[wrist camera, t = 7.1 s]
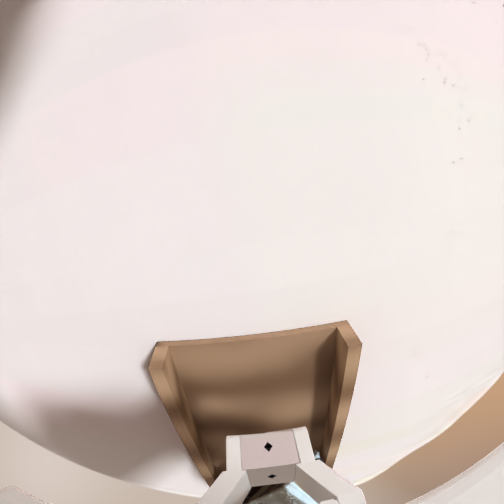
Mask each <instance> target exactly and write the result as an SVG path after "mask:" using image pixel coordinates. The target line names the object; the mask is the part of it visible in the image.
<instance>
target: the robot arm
mask: <svg viewBox="0 0 504 504" xmlns="http://www.w3.org/2000/svg"><path fill="white" fill-rule="evenodd" d="M287 482H295V483H296V484H297V485H298V486H299V487H300V488H301V489H302V490H303V491H305V492H306V493H307V494H308V495H309V496H310V497H311V498H312V499H313V500H314V501H316V502H317V503H318V504H367V503H366V500H365V497H364V494H363V491H362V490H361V489H360V488H358V487H357V486H355V485H354V484H352V483H351V482H349V481H348V480H347V479H345V478H344V477H342V476H341V475H339V474H338V473H337V472H335V471H334V470H333V469H331V468H330V467H328V466H327V465H326V464H324V463H323V462H322V461H321V460H315V457H314V453H313V450H312V446H311V442H310V439H309V435H308V431H307V428H306V427H305V426H304V427H298V428H293V429H292V428H291V429H285V430H279V431H273V432H266V433H258V434H248V435H233V436H227V437H226V471H222V473H221V474H220V475H219V477H218V478H217V479H216V481H215V482H214V483H213V484H212V486H211V487H210V488H209V489H208V491H207V492H206V493H205V494H204V495H203V497H202V498H201V499H200V500H199V502H198V503H197V504H242V503H243V501H244V499H245V498H246V496H247V494H248V493H249V491H250V490H251V487H255V486H263V485H271V484H279V483H287ZM0 504H47V503H46V502H43V501H41V500H39V499H37V498H35V497H33V496H31V495H29V494H28V493H26V492H24V491H22V490H20V489H19V488H17V487H14V486H9V487H6V488H4V489H2V490H0ZM405 504H504V442H503V443H502V444H501V445H499V446H498V447H497V448H496V449H494V450H493V451H492V452H491V453H489V454H488V455H487V456H485V457H484V458H483V459H481V460H480V461H478V462H477V463H476V464H474V465H473V466H471V467H470V468H468V469H467V470H465V471H464V472H462V473H461V474H459V475H458V476H456V477H454V478H453V479H451V480H450V481H448V482H446V483H444V484H443V485H441V486H439V487H437V488H435V489H434V490H432V491H430V492H428V493H426V494H424V495H422V496H420V497H418V498H416V499H414V500H412V501H410V502H408V503H405Z"/></svg>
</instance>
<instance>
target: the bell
mask: <svg viewBox="0 0 504 504" xmlns="http://www.w3.org/2000/svg"><path fill="white" fill-rule="evenodd" d="M313 453H314V457H315V460H321V461H322V462H323V460H322V459H320V455H319V452H318V451H316V450H313ZM242 504H318V503H317V502H316V501H314V500H313V499H312V498H311V497H310V496H309V495H308V494H307V493H306V492H305V491H303V490H302V489H301V488H300V487H299V486H298V485H297V484H296V483H295V482H287V483H279V484H271V485H263V486H255V487H251V490H250V491H249V493H248V494H247V496H246V498H245V499H244V501H243V503H242Z"/></svg>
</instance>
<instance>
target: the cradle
mask: <svg viewBox="0 0 504 504" xmlns="http://www.w3.org/2000/svg"><path fill="white" fill-rule="evenodd" d="M361 349H362V343H361V341H360V340H359V338H358V336H357V335H356V333H355V332H354V330H353V329H352V327H351V326H350V324H349V323H348V321H347V320H346V321H341V322H335V323H330V324H324V325H318V326H312V327H305V328H299V329H292V330H285V331H278V332H270V333H262V334H254V335H245V336H235V337H224V338H213V339H200V340H185V341H165V342H157V343H156V346H155V349H154V352H153V355H152V358H151V361H150V364H149V366H148V370H149V372H150V375H151V377H152V379H153V382H154V384H155V386H156V389H157V391H158V393H159V395H160V398H161V400H162V402H163V404H164V406H165V408H166V410H167V412H168V414H169V417H170V419H171V421H172V423H173V425H174V426H175V428H176V430H177V432H178V434H179V436H180V438H181V440H182V442H183V443H184V445H185V447H186V449H187V451H188V452H189V454H190V456H191V458H192V459H193V461H194V463H195V464H196V466H197V468H198V469H199V471H200V473H201V474H202V476H203V477H204V479H205V481H206V482H207V484H208V485H209V487H211V486H212V484H213V483H214V482H215V481H216V479H217V478H218V477H219V475H220V474H221V473H222V471H226V437H227V436H233V435H248V434H258V433H266V432H273V431H279V430H285V429H291V428H292V429H293V428H298V427H304V426H305V427H306V428H307V431H308V435H309V439H310V442H311V446H312V450H316V451H318V452H319V455H320V459H322V460H323V463H324V464H326V465H327V466H328V467H330V468H331V469H332V468H333V465H334V461H335V458H336V455H337V452H338V449H339V445H340V442H341V438H342V435H343V431H344V428H345V424H346V420H347V416H348V412H349V408H350V404H351V400H352V395H353V391H354V386H355V381H356V376H357V371H358V366H359V360H360V354H361Z"/></svg>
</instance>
